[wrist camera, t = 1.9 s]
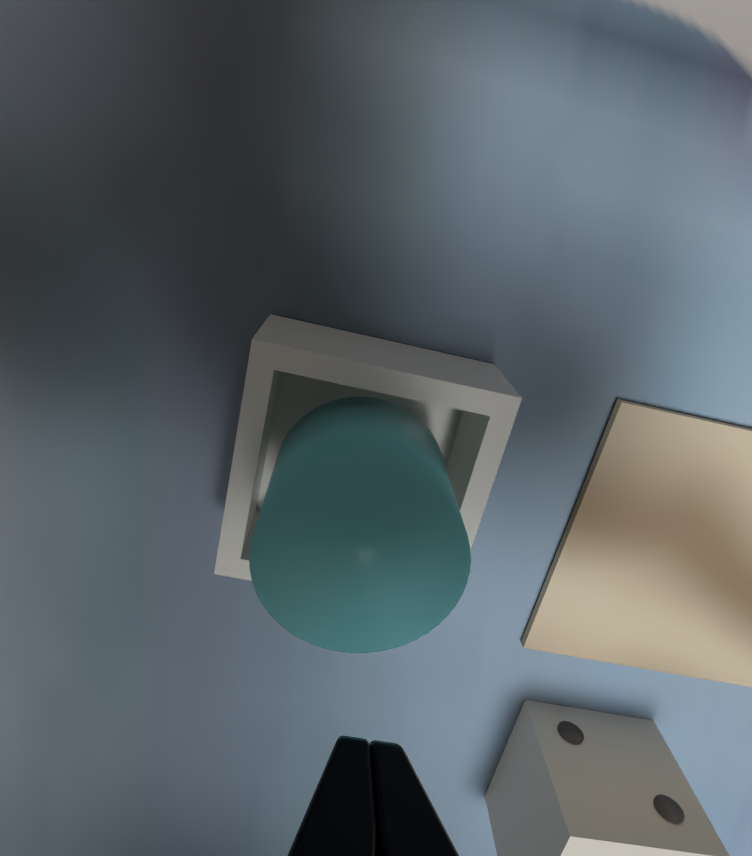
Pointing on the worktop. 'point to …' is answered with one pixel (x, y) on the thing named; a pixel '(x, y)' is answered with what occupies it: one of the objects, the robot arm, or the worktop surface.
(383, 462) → the dome button
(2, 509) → the worktop surface
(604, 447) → the birch tile
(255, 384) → the dome base
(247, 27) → the worktop surface
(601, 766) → the die
